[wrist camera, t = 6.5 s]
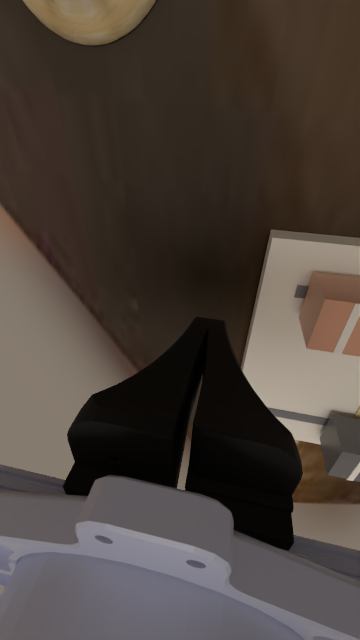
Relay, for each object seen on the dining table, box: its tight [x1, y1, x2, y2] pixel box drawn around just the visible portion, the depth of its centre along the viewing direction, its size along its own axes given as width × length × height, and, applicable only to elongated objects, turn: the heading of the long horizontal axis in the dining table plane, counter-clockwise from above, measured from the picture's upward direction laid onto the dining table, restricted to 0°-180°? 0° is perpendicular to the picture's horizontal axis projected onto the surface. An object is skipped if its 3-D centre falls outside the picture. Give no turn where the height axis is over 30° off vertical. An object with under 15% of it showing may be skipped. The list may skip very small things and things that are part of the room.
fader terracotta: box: [299, 272, 360, 357], centre depth 15 cm, size 3×3×3 cm
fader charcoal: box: [320, 414, 360, 482], centre depth 21 cm, size 3×3×3 cm
